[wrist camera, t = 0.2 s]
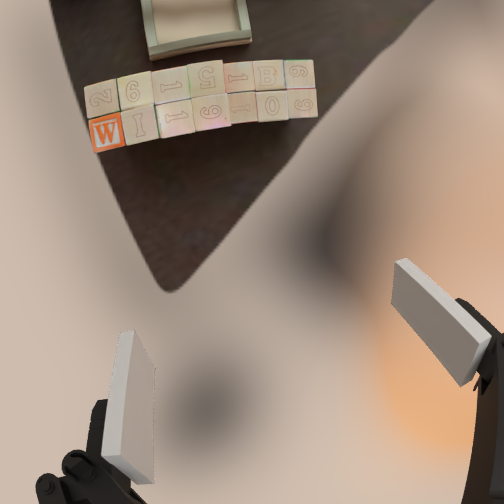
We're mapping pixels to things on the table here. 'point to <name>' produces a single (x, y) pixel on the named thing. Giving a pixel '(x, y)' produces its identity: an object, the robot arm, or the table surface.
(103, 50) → the table surface
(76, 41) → the table surface
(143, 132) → the stack of blocks
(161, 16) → the square tray
